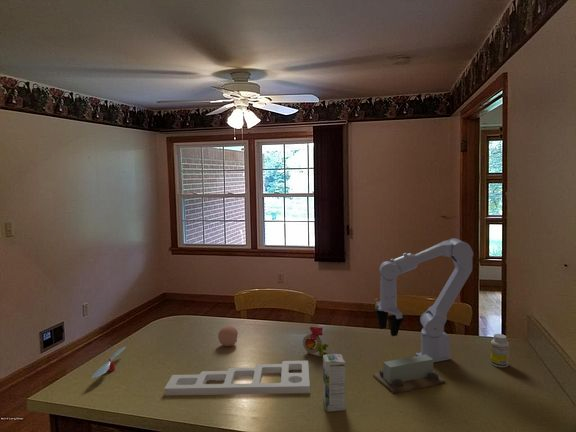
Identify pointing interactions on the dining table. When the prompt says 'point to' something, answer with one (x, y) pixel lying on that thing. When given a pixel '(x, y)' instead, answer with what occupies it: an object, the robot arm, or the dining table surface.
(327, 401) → the syrup box
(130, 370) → the dining table surface
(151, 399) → the dining table surface
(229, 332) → the toy ball
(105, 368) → the propeller
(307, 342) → the bird rattle
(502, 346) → the supplement bottle
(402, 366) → the block
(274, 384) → the holder
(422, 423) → the dining table surface
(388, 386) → the cradle board
